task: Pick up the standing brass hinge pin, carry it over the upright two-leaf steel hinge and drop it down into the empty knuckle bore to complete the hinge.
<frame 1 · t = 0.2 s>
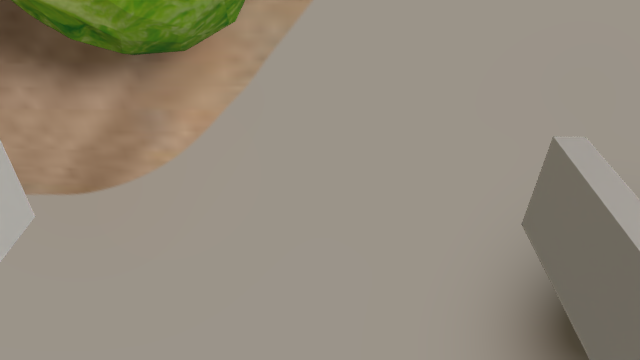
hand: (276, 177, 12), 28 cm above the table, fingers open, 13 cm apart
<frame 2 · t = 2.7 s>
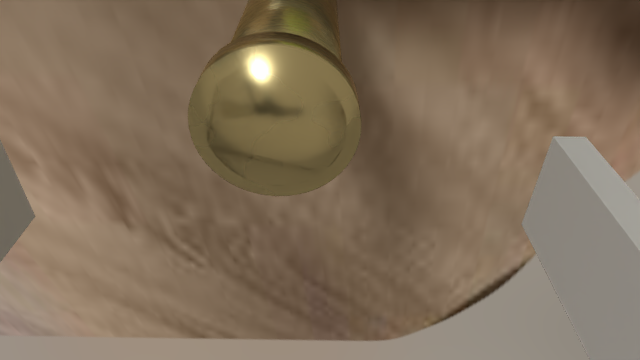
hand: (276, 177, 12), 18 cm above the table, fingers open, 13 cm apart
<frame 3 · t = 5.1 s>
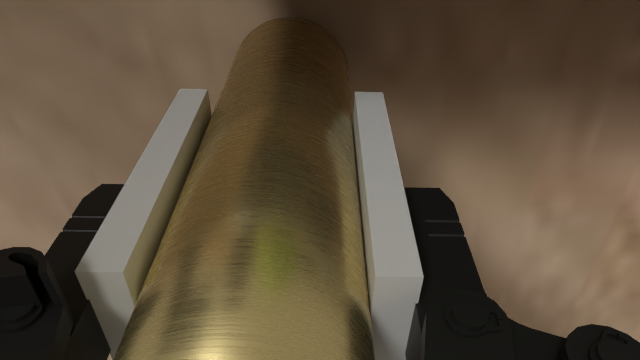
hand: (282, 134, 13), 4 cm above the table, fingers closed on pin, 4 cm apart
pin: (291, 74, 17), on the table, touching gripper
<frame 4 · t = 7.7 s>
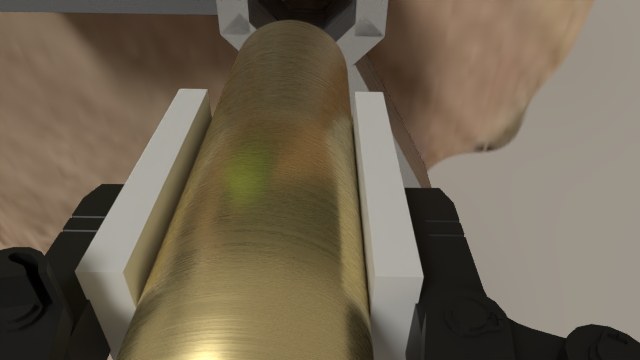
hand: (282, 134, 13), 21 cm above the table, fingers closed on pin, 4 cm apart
pin: (291, 76, 17), point 17 cm above the table, touching gripper
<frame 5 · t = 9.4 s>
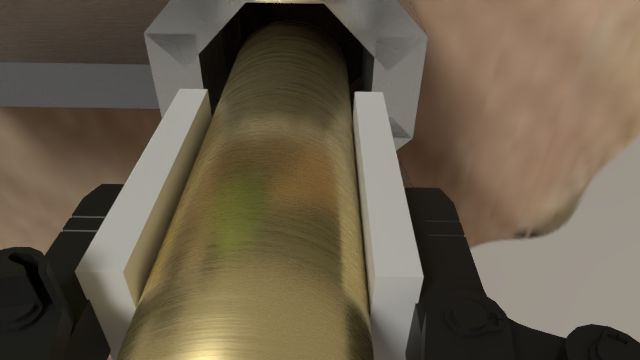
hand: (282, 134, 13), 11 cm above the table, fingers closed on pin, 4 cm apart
pin: (291, 76, 17), point 7 cm above the table, touching gripper
hinge: (298, 14, 22), on the table
when the fingers open (10 cm above the table, at t = 10.7 s): pin drops 5 cm, resting in hinge.
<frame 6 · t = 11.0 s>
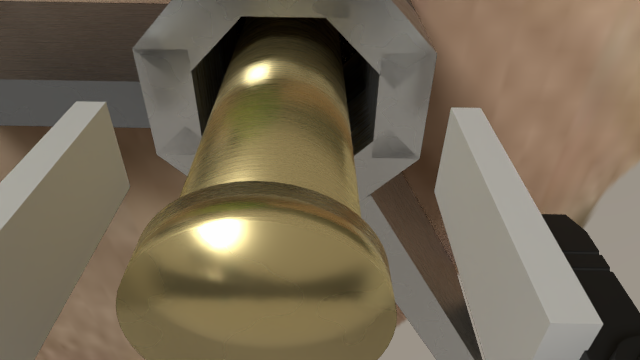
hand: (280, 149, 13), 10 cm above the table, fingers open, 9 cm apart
pin: (292, 25, 21), resting in hinge
hinge: (298, 24, 21), on the table
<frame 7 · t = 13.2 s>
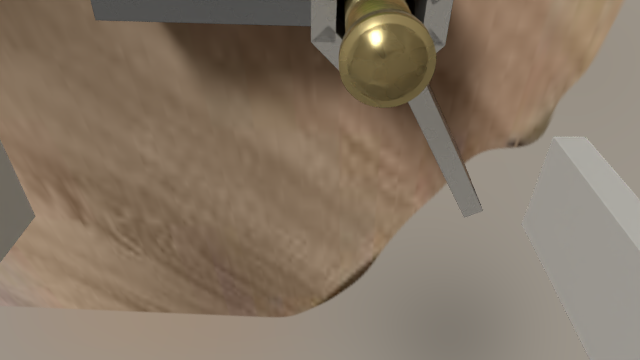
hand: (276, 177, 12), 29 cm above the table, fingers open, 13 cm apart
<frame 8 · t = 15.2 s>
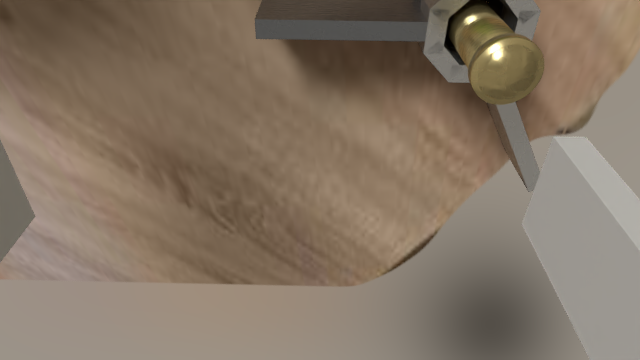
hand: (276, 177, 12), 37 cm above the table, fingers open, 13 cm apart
pin: (455, 4, 45), resting in hinge
hinge: (458, 4, 45), on the table
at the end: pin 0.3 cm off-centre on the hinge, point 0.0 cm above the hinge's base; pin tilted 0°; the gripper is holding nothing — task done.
